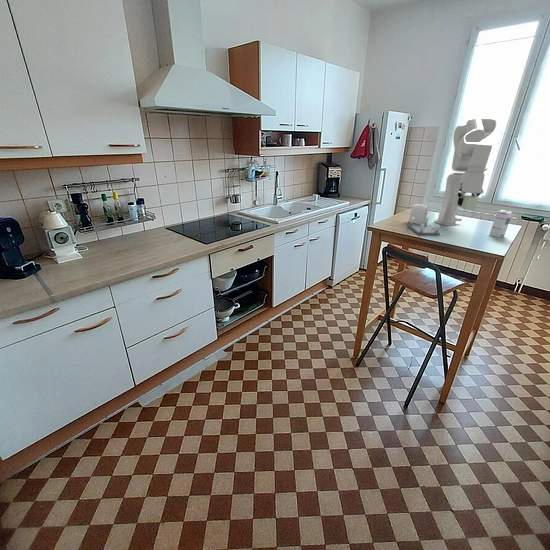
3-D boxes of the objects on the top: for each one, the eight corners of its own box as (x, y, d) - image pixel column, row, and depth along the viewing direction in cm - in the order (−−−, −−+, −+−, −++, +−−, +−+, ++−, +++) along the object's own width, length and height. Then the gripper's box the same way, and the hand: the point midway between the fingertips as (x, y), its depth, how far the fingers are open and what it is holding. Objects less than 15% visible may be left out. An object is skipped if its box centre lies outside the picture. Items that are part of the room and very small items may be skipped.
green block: (463, 204, 164) (466, 193, 161) (474, 209, 154) (478, 198, 151) (454, 204, 164) (457, 193, 161) (465, 209, 154) (468, 197, 151)
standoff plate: (426, 227, 185) (429, 217, 182) (439, 235, 169) (442, 225, 167) (407, 226, 185) (409, 217, 182) (418, 234, 170) (421, 224, 167)
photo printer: (407, 222, 195) (411, 203, 189) (410, 221, 197) (414, 202, 192) (422, 225, 188) (427, 206, 182) (425, 224, 190) (430, 205, 185)
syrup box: (499, 237, 169) (508, 212, 162) (488, 234, 173) (497, 210, 167) (504, 236, 172) (513, 211, 165) (493, 233, 176) (501, 209, 170)
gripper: (488, 169, 153) (476, 204, 162) (455, 168, 154) (445, 203, 162) (497, 171, 147) (484, 207, 155) (462, 170, 147) (452, 206, 155)
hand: (464, 205), depth 158 cm, fingers closed on green block, 5 cm apart
